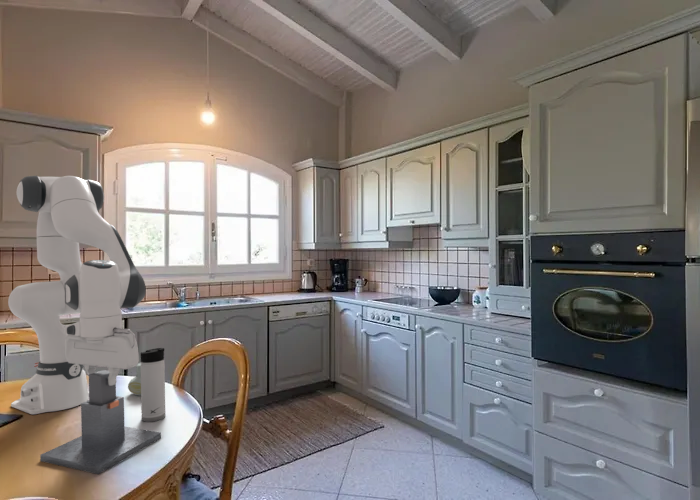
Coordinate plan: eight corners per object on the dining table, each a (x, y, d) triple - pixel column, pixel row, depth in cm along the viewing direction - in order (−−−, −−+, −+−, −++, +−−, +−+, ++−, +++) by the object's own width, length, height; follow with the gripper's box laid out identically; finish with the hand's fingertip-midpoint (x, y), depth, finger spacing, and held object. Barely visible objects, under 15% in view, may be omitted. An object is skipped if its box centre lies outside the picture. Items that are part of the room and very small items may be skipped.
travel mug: (157, 422, 119) (155, 351, 119) (136, 421, 120) (135, 350, 120) (171, 414, 125) (169, 346, 125) (151, 412, 126) (149, 345, 126)
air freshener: (123, 395, 142) (123, 365, 142) (143, 387, 150) (143, 359, 150) (149, 398, 138) (148, 368, 138) (168, 390, 146) (167, 361, 146)
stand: (40, 461, 98) (39, 409, 98) (108, 429, 115) (107, 385, 115) (98, 474, 92) (97, 418, 92) (161, 438, 109) (160, 391, 109)
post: (89, 440, 102) (87, 374, 102) (104, 433, 106) (103, 369, 106) (102, 443, 101) (101, 376, 101) (117, 435, 105) (116, 371, 105)
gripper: (144, 326, 103) (146, 383, 103) (83, 322, 110) (84, 376, 110) (123, 331, 97) (124, 392, 97) (59, 327, 104) (60, 383, 104)
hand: (102, 383), depth 104 cm, fingers open, 4 cm apart
